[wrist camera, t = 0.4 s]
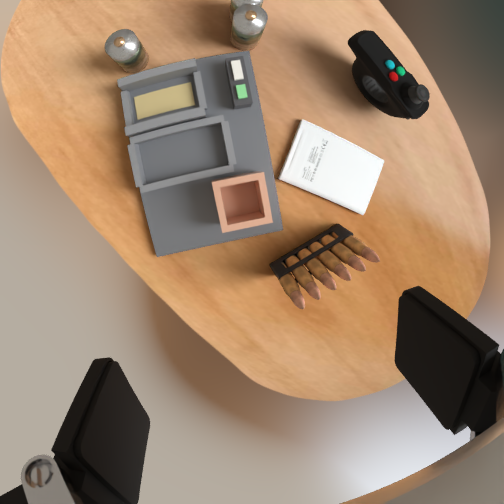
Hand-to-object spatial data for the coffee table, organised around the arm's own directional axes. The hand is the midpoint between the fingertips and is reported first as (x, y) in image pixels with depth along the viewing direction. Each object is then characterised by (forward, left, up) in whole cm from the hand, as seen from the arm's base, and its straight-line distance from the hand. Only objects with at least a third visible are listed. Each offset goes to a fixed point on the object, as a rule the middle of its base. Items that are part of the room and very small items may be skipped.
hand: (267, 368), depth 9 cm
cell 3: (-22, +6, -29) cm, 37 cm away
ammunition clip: (+7, +9, -29) cm, 31 cm away
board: (-8, -2, -29) cm, 30 cm away
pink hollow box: (-2, +2, -28) cm, 28 cm away
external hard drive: (-3, +14, -30) cm, 33 cm away
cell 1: (-22, -8, -29) cm, 37 cm away
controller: (-14, +21, -29) cm, 39 cm away
